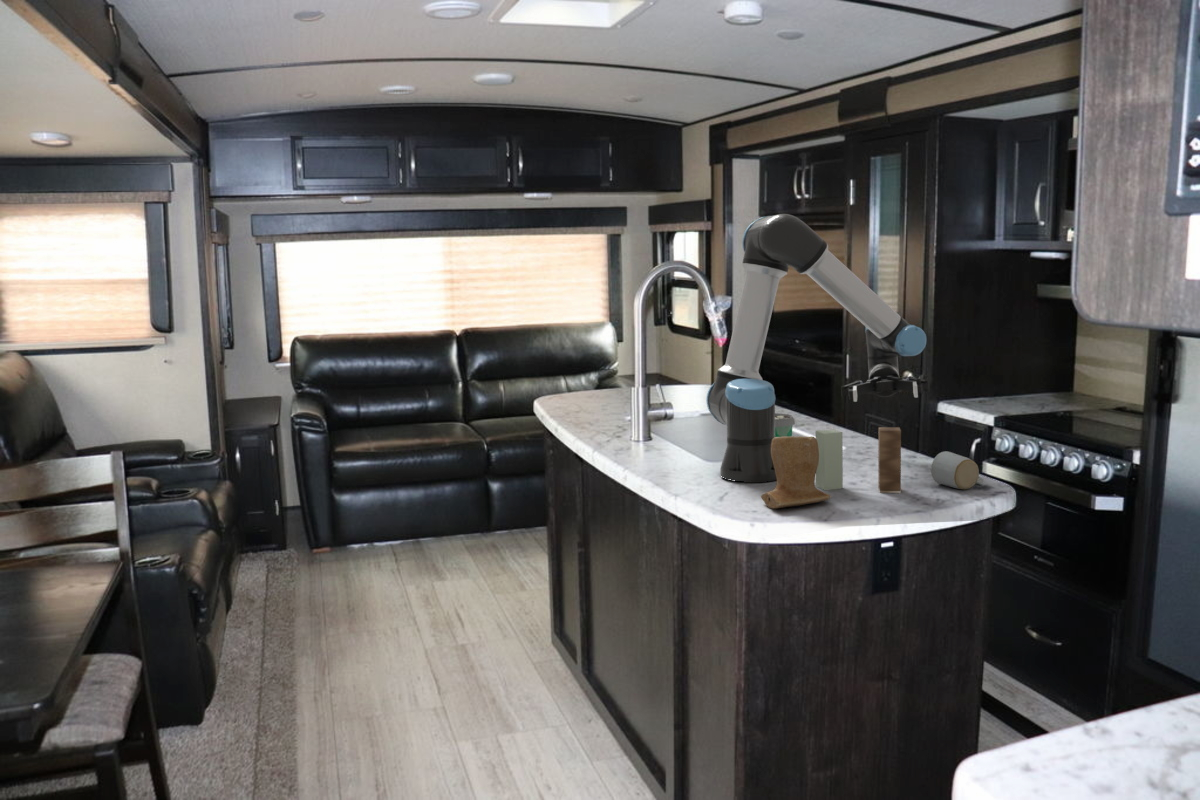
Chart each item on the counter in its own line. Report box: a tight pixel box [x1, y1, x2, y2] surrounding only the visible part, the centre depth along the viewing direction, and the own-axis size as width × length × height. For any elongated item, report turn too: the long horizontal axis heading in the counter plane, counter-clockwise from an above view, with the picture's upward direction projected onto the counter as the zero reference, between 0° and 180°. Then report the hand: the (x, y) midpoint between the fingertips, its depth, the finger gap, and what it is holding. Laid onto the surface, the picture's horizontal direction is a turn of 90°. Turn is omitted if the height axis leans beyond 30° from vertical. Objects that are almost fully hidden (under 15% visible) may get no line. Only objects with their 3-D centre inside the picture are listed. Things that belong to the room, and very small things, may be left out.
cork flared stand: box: [760, 435, 832, 509], centre depth 210 cm, size 15×12×15 cm
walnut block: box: [877, 426, 902, 494], centre depth 219 cm, size 4×4×14 cm
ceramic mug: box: [930, 450, 984, 491], centre depth 221 cm, size 11×8×8 cm
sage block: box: [815, 428, 844, 491], centre depth 224 cm, size 4×4×13 cm
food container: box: [775, 412, 796, 437], centre depth 269 cm, size 12×6×10 cm, turn 168°
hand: (885, 393), depth 227 cm, fingers open, 13 cm apart
